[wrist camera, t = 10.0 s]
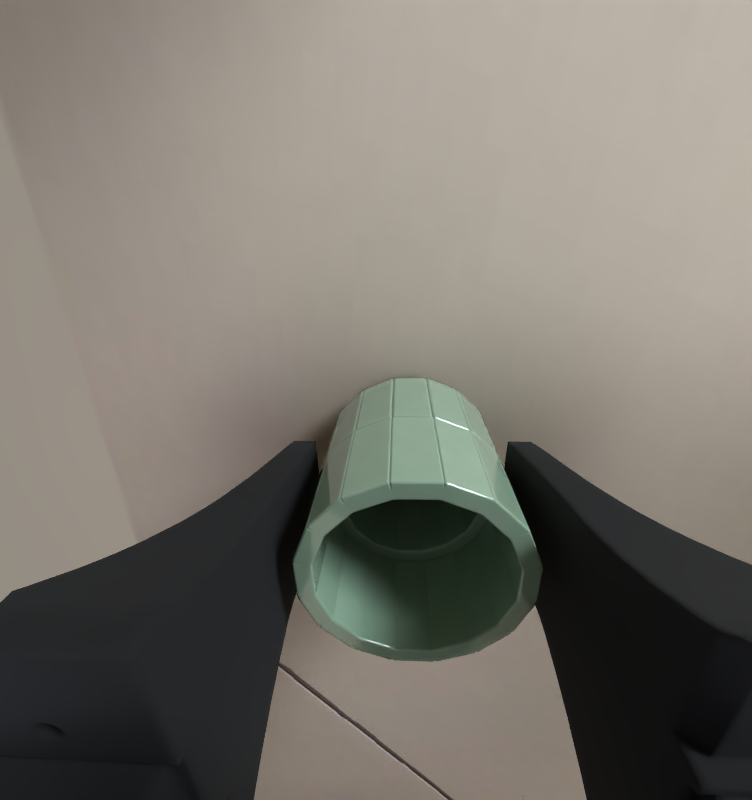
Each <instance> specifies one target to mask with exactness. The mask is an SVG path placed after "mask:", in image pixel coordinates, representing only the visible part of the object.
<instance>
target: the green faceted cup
mask: <svg viewBox="0 0 752 800" xmlns="http://www.w3.org/2000/svg"><path fill="white" fill-rule="evenodd" d="M292 565H293V572H294V578H295V585H296V591H297V596H298V598H299V600H300V601H301V602H302V604H303V605H304V607H305V608H306V609H307V611H308V612H309V614H310V615H311V616H312V618H313V619H314V621H315V622H316V623H317V625H319V626H320V628H322V629H323V630H325V631H326V632H328V633H330V634H331V635H333V636H334V637H336V638H337V639H339V640H340V641H342V642H343V643H345V644H346V645H348V646H349V647H353V649H356V650H360V651H363V652H366V653H370V654H373V655H376V656H380V657H383V658H386V659H390V660H391V659H393V660H401V661H428V662H434V661H441V660H445V659H450V658H454V657H459V656H463V655H468V654H472V653H475V652H479V651H480V650H482V649H484V648H486V647H488V646H489V645H491V644H493V643H495V642H496V641H498V640H500V639H502V638H504V637H505V636H507V635H509V634H511V632H513V631H514V630H515V629H516V628H517V626H518V625H519V624H520V623H521V621H522V620H523V619H524V618H525V617H526V615H527V614H528V613H529V612H530V610H531V609H532V608H533V607H534V606H535V603H536V602H537V597H538V592H539V587H540V582H541V577H542V572H543V563H542V561H541V558H540V555H539V553H538V550H537V547H536V544H535V542H534V539H533V536H532V534H531V531H530V529H529V526H528V524H527V522H526V519H525V517H524V515H523V512H522V510H521V508H520V505H519V503H518V500H517V498H516V496H515V493H514V491H513V489H512V486H511V484H510V482H509V479H508V477H507V475H506V472H505V470H504V468H503V465H502V463H501V461H500V458H499V456H498V454H497V451H496V449H495V447H494V444H493V442H492V440H491V437H490V435H489V433H488V430H487V428H486V426H485V423H484V421H483V419H482V416H481V414H480V413H479V411H478V409H477V408H476V407H475V406H474V405H473V404H472V403H471V402H470V401H469V400H467V399H466V398H465V397H464V396H463V395H462V394H461V393H460V392H459V391H456V390H455V389H454V388H451V387H449V386H446V385H443V384H441V383H438V382H436V381H433V380H430V379H427V380H426V379H425V378H395V379H394V380H393V379H390V380H387V381H385V382H382V383H380V384H377V385H375V386H372V387H369V388H367V389H365V390H364V391H361V392H360V393H359V394H358V395H357V396H356V397H355V398H354V399H353V400H352V401H351V402H350V403H349V404H348V405H347V406H346V407H345V408H344V409H343V410H342V411H341V412H340V415H339V418H338V420H337V423H336V425H335V428H334V430H333V433H332V436H331V439H330V442H329V445H328V448H327V452H326V455H325V458H324V461H323V464H322V467H321V471H320V474H319V477H318V480H317V483H316V486H315V489H314V493H313V496H312V499H311V502H310V505H309V508H308V512H307V515H306V518H305V521H304V524H303V527H302V531H301V534H300V537H299V540H298V543H297V546H296V549H295V553H294V556H293V561H292Z"/></svg>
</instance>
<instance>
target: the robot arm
mask: <svg viewBox="0 0 752 800" xmlns="http://www.w3.org/2000/svg"><path fill="white" fill-rule="evenodd" d="M504 470H505V472H506V475H507V477H508V479H509V482H510V484H511V486H512V489H513V491H514V493H515V496H516V498H517V500H518V503H519V505H520V508H521V510H522V512H523V515H524V517H525V519H526V522H527V524H528V526H529V529H530V531H531V534H532V536H533V539H534V542H535V544H536V547H537V550H538V553H539V555H540V558H541V561H542V563H543V572H542V577H541V582H540V587H539V592H538V597H537V602H536V603H535V606H536V608H537V611H538V614H539V617H540V619H541V622H542V625H543V628H544V632H545V635H546V639H547V642H548V646H549V649H550V653H551V657H552V660H553V664H554V667H555V671H556V675H557V679H558V682H559V686H560V690H561V694H562V698H563V702H564V705H565V709H566V713H567V717H568V721H569V725H570V729H571V734H572V738H573V742H574V746H575V750H576V754H577V759H578V763H579V767H580V771H581V775H582V780H583V784H584V789H585V793H586V798H587V800H752V565H750V564H748V563H745V562H743V561H741V560H738V559H736V558H733V557H731V556H728V555H726V554H724V553H721V552H719V551H717V550H715V549H712V548H710V547H708V546H706V545H703V544H701V543H699V542H697V541H694V540H692V539H690V538H688V537H686V536H684V535H682V534H680V533H677V532H675V531H673V530H671V529H669V528H667V527H665V526H663V525H662V524H660V523H658V522H656V521H654V520H652V519H650V518H648V517H646V516H644V515H643V514H641V513H639V512H637V511H635V510H634V509H632V508H630V507H628V506H627V505H625V504H623V503H622V502H620V501H618V500H617V499H615V498H613V497H612V496H610V495H609V494H607V493H605V492H604V491H602V490H600V489H599V488H597V487H596V486H594V485H593V484H591V483H590V482H588V481H587V480H585V479H584V478H582V477H581V476H579V475H578V474H577V473H575V472H574V471H572V470H571V469H569V468H568V467H567V466H565V465H564V464H562V463H561V462H559V461H558V460H557V459H555V458H554V457H552V456H551V455H550V454H548V453H547V452H545V451H544V450H542V449H541V448H540V447H538V446H536V445H535V444H533V443H532V442H508V445H507V453H506V461H505V468H504ZM318 477H319V467H318V458H317V448H316V441H294V442H293V443H291V444H290V445H289V446H287V447H286V448H285V449H284V450H282V451H281V452H280V453H279V454H278V455H276V456H275V457H274V458H273V459H272V460H270V461H269V462H268V463H267V464H265V465H264V466H263V467H262V468H260V469H259V470H258V471H257V472H255V473H254V474H253V475H252V476H250V477H249V478H248V479H246V480H245V481H243V482H242V483H241V484H239V485H238V486H237V487H235V488H234V489H232V490H231V491H230V492H228V493H227V494H226V495H224V496H223V497H221V498H220V499H218V500H217V501H215V502H214V503H212V504H210V505H209V506H207V507H206V508H204V509H202V510H201V511H199V512H197V513H196V514H194V515H192V516H190V517H189V518H187V519H185V520H183V521H182V522H180V523H178V524H176V525H174V526H172V527H170V528H168V529H166V530H164V531H162V532H160V533H158V534H156V535H154V536H152V537H150V538H148V539H146V540H144V541H142V542H140V543H138V544H136V545H134V546H131V547H129V548H127V549H124V550H122V551H120V552H118V553H116V554H113V555H110V556H108V557H106V558H103V559H101V560H98V561H96V562H93V563H91V564H88V565H86V566H83V567H80V568H78V569H75V570H72V571H69V572H66V573H64V574H61V575H58V576H55V577H52V578H49V579H47V580H44V581H41V582H38V583H35V584H32V585H30V586H27V587H23V588H20V589H17V590H14V591H12V592H11V593H10V594H9V595H8V596H7V597H6V598H5V599H4V600H3V601H2V602H0V800H254V794H255V788H256V782H257V776H258V770H259V765H260V759H261V753H262V748H263V742H264V737H265V732H266V726H267V721H268V716H269V710H270V705H271V700H272V695H273V690H274V685H275V680H276V675H277V670H278V665H279V660H280V655H281V651H282V646H283V642H284V637H285V632H286V628H287V623H288V619H289V615H290V612H291V608H292V605H293V601H294V598H295V595H296V592H297V591H296V585H295V578H294V572H293V565H292V561H293V556H294V553H295V549H296V546H297V543H298V540H299V537H300V534H301V531H302V527H303V524H304V521H305V518H306V515H307V512H308V508H309V505H310V502H311V499H312V496H313V493H314V489H315V486H316V483H317V480H318Z"/></svg>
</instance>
